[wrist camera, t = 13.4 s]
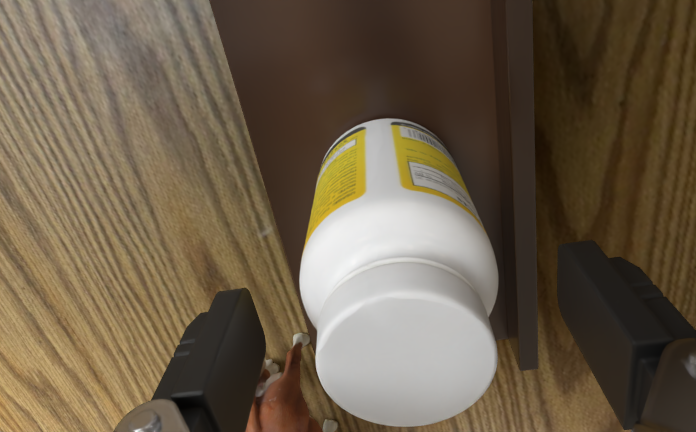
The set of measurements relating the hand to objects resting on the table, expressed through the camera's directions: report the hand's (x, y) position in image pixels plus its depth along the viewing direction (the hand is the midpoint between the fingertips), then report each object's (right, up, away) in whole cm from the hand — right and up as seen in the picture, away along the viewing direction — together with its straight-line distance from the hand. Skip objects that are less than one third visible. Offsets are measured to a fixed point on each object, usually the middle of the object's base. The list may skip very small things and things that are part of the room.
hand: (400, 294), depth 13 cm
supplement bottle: (0, +3, +7) cm, 8 cm away
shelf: (0, +6, +10) cm, 12 cm away
